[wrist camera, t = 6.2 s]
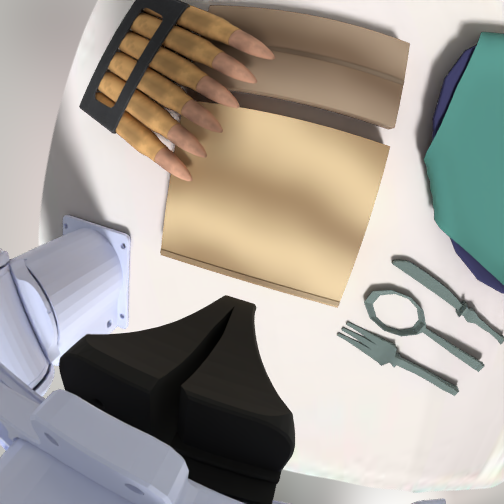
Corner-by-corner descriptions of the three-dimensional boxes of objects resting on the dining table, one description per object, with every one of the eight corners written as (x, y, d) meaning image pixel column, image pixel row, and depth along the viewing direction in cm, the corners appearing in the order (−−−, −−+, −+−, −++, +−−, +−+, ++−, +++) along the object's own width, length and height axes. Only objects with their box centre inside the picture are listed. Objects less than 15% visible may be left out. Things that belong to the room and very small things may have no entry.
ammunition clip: (144, -13, 14) (279, 40, 12) (159, -5, 15) (288, 50, 14) (78, 107, 18) (176, 194, 17) (95, 108, 20) (192, 190, 19)
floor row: (388, 129, 17) (394, 127, 15) (197, 86, 18) (188, 82, 17) (403, 50, 14) (409, 43, 13) (217, 13, 16) (209, 4, 14)
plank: (336, 297, 21) (337, 308, 20) (169, 248, 23) (160, 255, 21) (384, 146, 17) (390, 146, 15) (193, 102, 18) (184, 99, 17)
